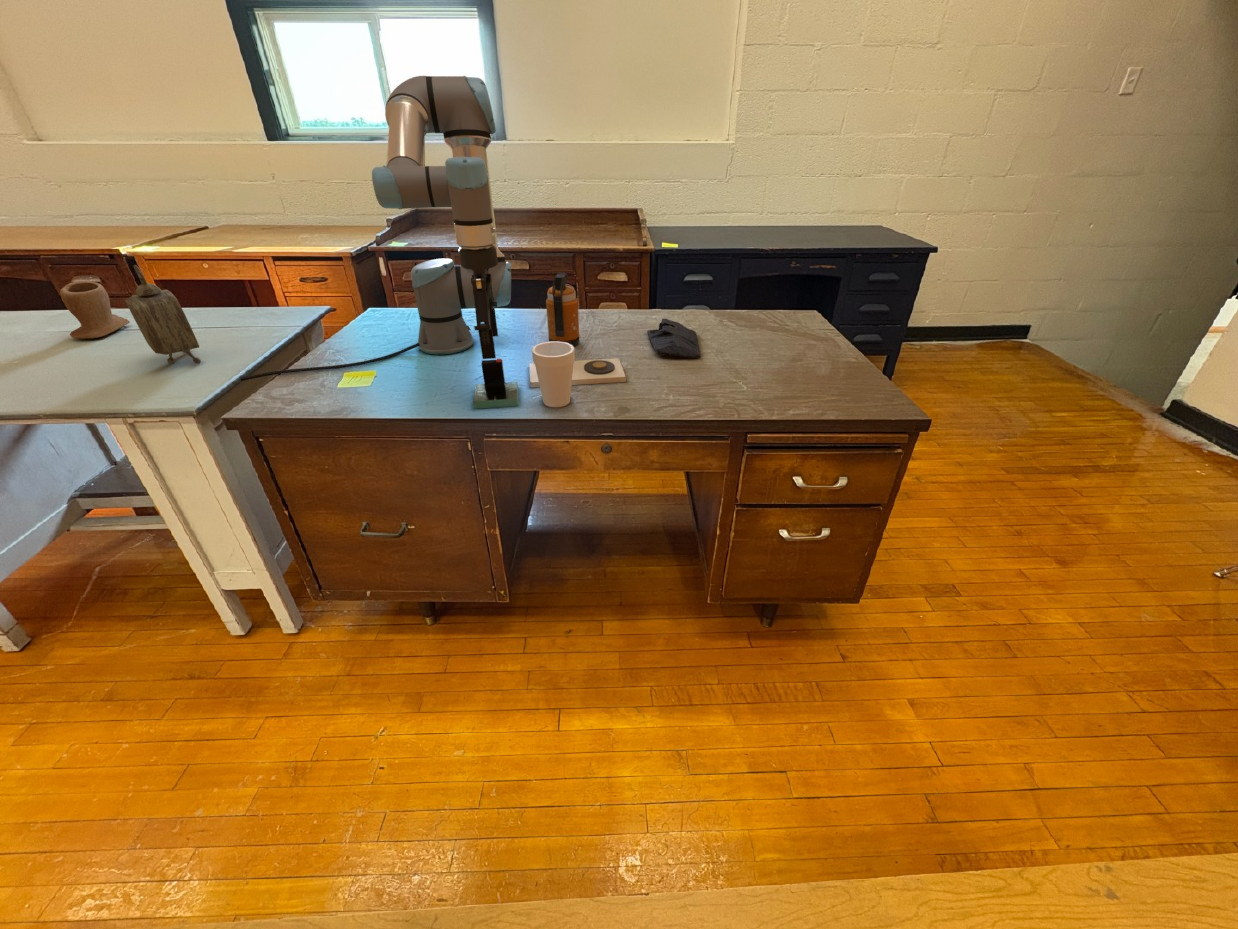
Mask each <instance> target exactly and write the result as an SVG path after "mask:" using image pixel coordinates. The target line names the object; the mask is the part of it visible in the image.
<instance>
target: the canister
mask: <svg viewBox="0 0 1238 929" xmlns="http://www.w3.org/2000/svg"><path fill="white" fill-rule="evenodd" d="M567 279H568V274H567V272H557V274H556V275H554V276H553V282H552V286H551V287H549V288H548V290H547V298H546V300H545V305H546V306H545V307H546V318H547V319H546V320H547V331H548V332H547V334H548V342H550V341H560V342H566V343H569V344H571V345H573V346H575V345H577V344H579V343H580V323H579V322H580V321H579V298H577V294H576V293H577V292H576V290H575V287H574V286H572V285H571V284H568V283H567Z"/></svg>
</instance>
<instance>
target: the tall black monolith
mask: <svg viewBox="0 0 1238 929" xmlns="http://www.w3.org/2000/svg"><path fill="white" fill-rule="evenodd" d="M481 370H482V377H483V384H485V391H486V393H499V392H506V385H505V383H506V378H505V370H504V363H503V358H496V359H482V360H481Z"/></svg>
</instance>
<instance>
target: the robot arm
mask: <svg viewBox="0 0 1238 929" xmlns="http://www.w3.org/2000/svg"><path fill="white" fill-rule="evenodd" d="M384 112H385V113H384V116H385V121H386V123H387V126H388V136H387V151H386V162H385V163H386V165H381V166H376V167H373V168H372V170H371V181H372V186H373V191H374V194H375V197H376V200H377V203H378V204H379V206H380V207H382V208H383V209H396V210H405V209H406V210H407V209H432V208H434V209H435V208H437V209H439V208H451V211H452V218H453V228H454V235H455V242H456V245H458V246H459V248H458V249H457V252H458V259H459V264H455V261H454V260H453V259H451V258H436V259H435V258H434V259H430V260H427V261H423V262H421V263H418V264H416V265H415V266H413V267H412V269H411V271H410V277H411V287H412V289H413V294H414V297H415V303H416V307H417V313H418V316H419V321H420V322H419V328H418V338H417V343H415V344H412V345H410V346H407V347H405V348H403V349H401V350H398V351H396V352H392V353H390V354H386V355H384V356H380V357H375V358H372V359H367V360H361V361H356V362H351V363H344V364H334V365H325V366H311V367H303V368H289V369H280V370H279V369H278V370H272V371H266V372H260V373H256V374H251V375H246V376H241V377H239V379H240V381H241V382H242V381H243V382H244V381H248V380H253V379H259V378H262V377H263V378H264V377H268V376H274V375H282V374H290V373H291V374H292V373H301V372H302V373H303V372H314V371H325V370H336V369H337V370H338V369H344V368H345V369H346V368H351V367H359V366H363V365H368V364H372V363H377V362H380V361H384V360H387V359H390V358H394V357H396V356H398V355H401V354H404V353H406V352H408V351H410V350H413V349H415V348H417V347H418V349H419V350H420V351H421V352H422V353H425V354H428V355H433V356H434V355H435V356H444V355H452V354H458V353H462V352H463V351H467V350H468V349H470V348H471V347H472V346H473V345H474V340H473V335H472V333H471V332H472V331H471V328H470V326H469V325H467V323H466V321H465V318H464V316H463V312H462V310H465V309H469V310H470V309H474V310H475V320H476V325H474V326H473V328H474V329H473V330H474V331H478V337H479V344H480V350H481V357H482V360H495V359H497V357H496V356H497V355H496V348H495V342H494V337H495V338H496V337H498V336H499V332H498V324H497V317H496V309H495V308H497V307H498V308H499V307H505V306H508V305H509V304H510V303H511V297H512V264H511V262H509V261H506V256H505V255H504V253H502V251H501V250H500V249H499V244H498V238H497V237H498V235H497V232H498V229H497V227H496V219H495V213H494V202H493V195H492V194H493V193H492V187H491V186H492V185H491V178H490V170H489V160H488V153H487V152H488V151H487V148H488V147H489V146H490V144H492V135H493V134H495V133H496V131H497V128H496V123H495V119H494V113H493V108H492V103H491V99H490V95H489V91H488V88H487V84H486V83H485V81H484V80H483V79H482V78H480V77H474V76H466V75H449V76H448V75H443V76H442V75H418V76H413V77H411V78H408V79H406V80H404V81H403V82H401V83H400V84H398V85H397V87H395V88H394V89H393V91H391V93H390V94H389V96H388V98H387V101H386V104H385V111H384ZM427 134H443V140H444V141H443V142H444V143H445V144H446V145H447V146H448V147H449V148H450V150H451V153H452V157H447V159H446V160H445V163H444V165H426V138H425V137H426V135H427Z"/></svg>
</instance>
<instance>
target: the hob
mask: <svg viewBox="0 0 1238 929" xmlns="http://www.w3.org/2000/svg"><path fill="white" fill-rule="evenodd" d="M626 382H627V377H626V372H625V371H624V368H623V366H622V363H621V361H620V358H618V357H617V358H601V359H600V358H599V359H598V358H597V359H581V360H574V364H573V375H572V386H581V385H596V384H597V385H598V384H599V385H600V384H614V383H626ZM529 385H530V388H540V385H539V381H538V376H537V372H536V367H535V363H534V362H529Z"/></svg>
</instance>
